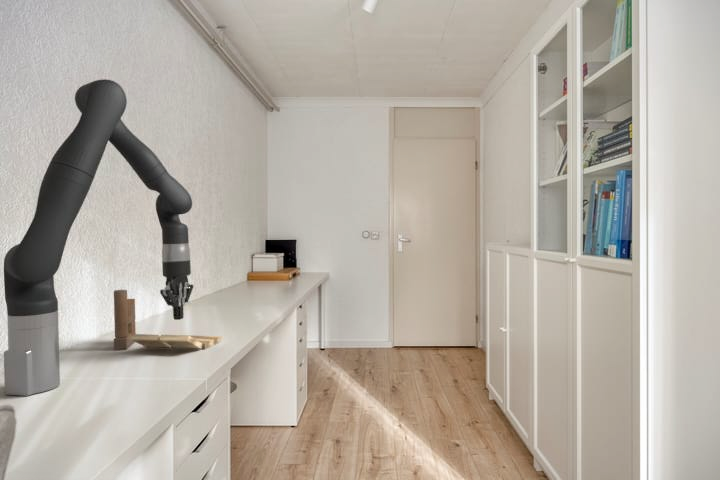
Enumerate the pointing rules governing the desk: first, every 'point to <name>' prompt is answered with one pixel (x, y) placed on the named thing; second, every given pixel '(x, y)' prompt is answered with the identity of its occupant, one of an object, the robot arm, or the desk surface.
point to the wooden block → (123, 320)
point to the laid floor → (205, 341)
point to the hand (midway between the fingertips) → (178, 319)
